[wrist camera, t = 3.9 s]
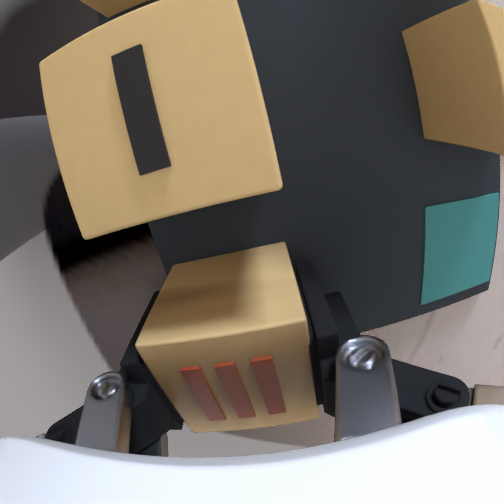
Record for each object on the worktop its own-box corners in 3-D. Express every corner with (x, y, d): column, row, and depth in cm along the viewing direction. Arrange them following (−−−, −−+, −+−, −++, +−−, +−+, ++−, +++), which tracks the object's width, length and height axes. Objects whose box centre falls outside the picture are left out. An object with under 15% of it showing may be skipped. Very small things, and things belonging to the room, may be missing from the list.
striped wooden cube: (301, 331, 12) (320, 421, 8) (206, 347, 12) (191, 436, 8) (285, 240, 10) (307, 321, 6) (172, 264, 11) (131, 348, 6)
